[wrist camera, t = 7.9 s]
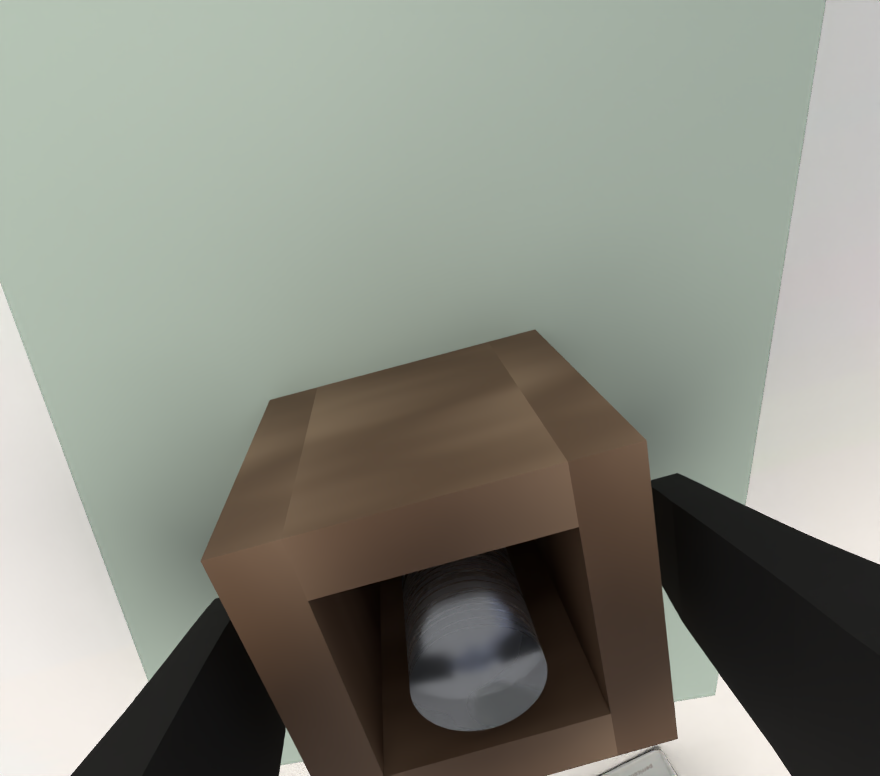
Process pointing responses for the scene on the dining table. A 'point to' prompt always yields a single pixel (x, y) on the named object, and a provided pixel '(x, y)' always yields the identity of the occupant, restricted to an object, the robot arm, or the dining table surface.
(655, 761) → the supplement box
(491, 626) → the grey steel post
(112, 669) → the dining table surface
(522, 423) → the walnut collar
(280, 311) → the sage board
